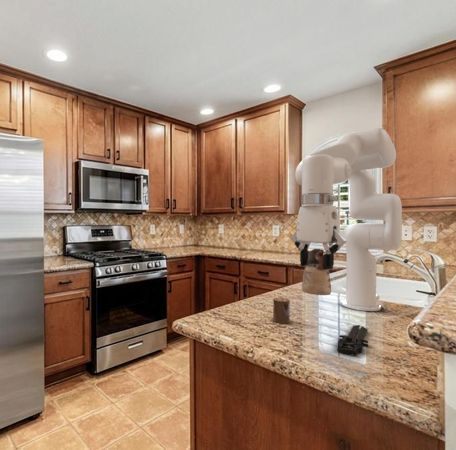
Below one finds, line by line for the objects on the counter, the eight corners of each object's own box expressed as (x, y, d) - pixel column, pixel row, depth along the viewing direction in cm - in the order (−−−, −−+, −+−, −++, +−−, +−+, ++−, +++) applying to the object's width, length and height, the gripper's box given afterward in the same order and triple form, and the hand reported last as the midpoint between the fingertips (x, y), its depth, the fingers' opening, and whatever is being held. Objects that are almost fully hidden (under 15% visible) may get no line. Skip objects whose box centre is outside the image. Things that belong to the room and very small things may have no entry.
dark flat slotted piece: (354, 326, 96) (354, 322, 96) (379, 331, 92) (379, 327, 92) (328, 349, 78) (329, 344, 78) (359, 358, 74) (359, 352, 74)
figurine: (324, 289, 88) (325, 247, 88) (335, 296, 81) (337, 250, 81) (298, 288, 89) (299, 246, 89) (307, 295, 82) (308, 249, 82)
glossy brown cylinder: (280, 317, 104) (280, 296, 104) (293, 322, 100) (293, 300, 100) (269, 320, 102) (270, 298, 101) (282, 324, 97) (283, 302, 97)
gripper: (358, 200, 79) (356, 270, 80) (297, 203, 94) (297, 262, 95) (341, 199, 76) (339, 273, 76) (281, 202, 91) (280, 264, 91)
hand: (316, 266), depth 85 cm, fingers closed on figurine, 6 cm apart
